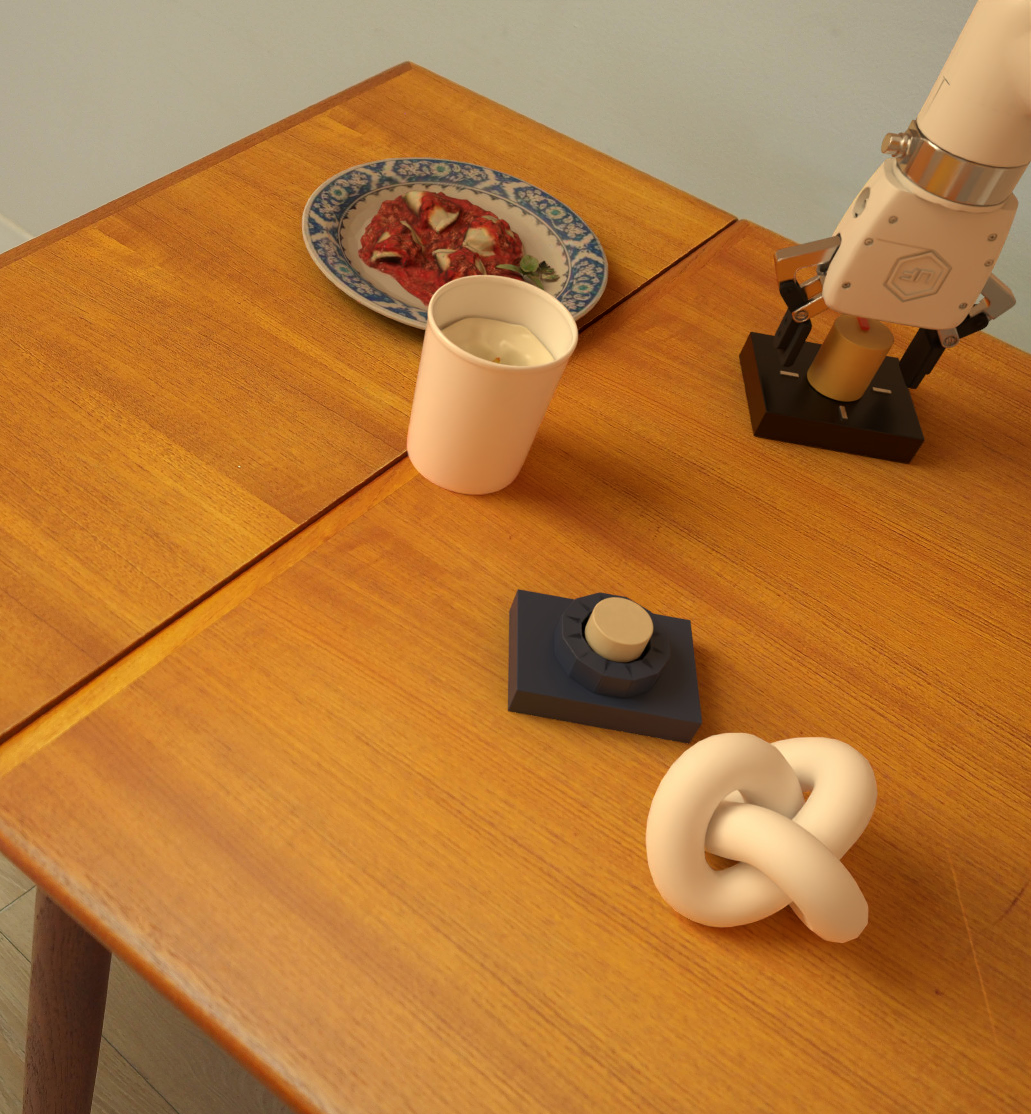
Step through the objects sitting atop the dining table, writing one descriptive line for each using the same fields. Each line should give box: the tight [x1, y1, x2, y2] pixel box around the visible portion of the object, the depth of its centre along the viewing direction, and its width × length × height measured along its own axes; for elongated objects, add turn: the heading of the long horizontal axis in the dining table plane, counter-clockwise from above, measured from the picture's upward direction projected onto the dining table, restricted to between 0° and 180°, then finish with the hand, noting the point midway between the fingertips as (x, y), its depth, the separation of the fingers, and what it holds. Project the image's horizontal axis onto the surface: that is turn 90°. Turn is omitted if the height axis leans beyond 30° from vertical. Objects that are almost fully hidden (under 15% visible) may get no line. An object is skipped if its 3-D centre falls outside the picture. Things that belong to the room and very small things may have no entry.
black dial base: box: [738, 331, 926, 465], centre depth 98 cm, size 12×10×3 cm
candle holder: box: [406, 275, 579, 496], centre depth 86 cm, size 10×10×12 cm
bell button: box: [585, 597, 653, 662], centre depth 74 cm, size 4×4×2 cm
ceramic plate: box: [301, 156, 609, 331], centre depth 105 cm, size 26×26×3 cm
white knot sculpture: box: [645, 732, 878, 944], centre depth 66 cm, size 11×12×9 cm
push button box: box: [507, 588, 703, 745], centre depth 76 cm, size 11×8×4 cm
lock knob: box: [807, 314, 895, 402], centre depth 95 cm, size 4×4×5 cm
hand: (844, 366), depth 96 cm, fingers open, 9 cm apart
